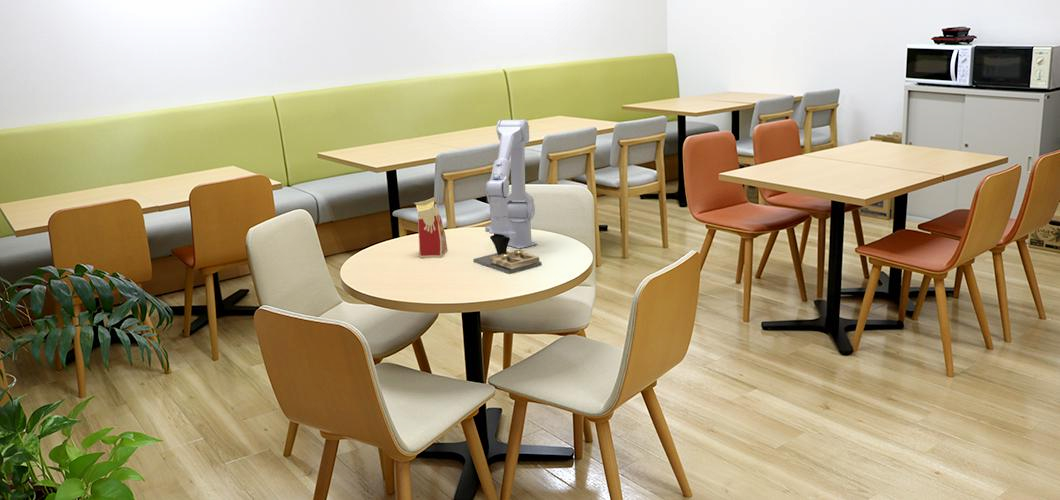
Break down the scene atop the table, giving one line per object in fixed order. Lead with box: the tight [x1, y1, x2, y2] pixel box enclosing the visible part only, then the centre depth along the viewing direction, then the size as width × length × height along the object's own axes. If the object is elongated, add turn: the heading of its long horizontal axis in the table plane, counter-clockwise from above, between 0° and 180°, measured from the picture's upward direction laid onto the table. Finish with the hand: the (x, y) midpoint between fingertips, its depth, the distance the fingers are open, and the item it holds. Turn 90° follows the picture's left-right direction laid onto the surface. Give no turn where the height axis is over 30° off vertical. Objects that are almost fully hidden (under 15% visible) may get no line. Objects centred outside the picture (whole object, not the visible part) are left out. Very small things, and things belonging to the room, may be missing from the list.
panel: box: [490, 250, 540, 269], centre depth 289 cm, size 12×11×2 cm
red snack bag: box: [413, 196, 448, 259], centre depth 307 cm, size 9×9×20 cm
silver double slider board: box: [472, 249, 543, 275], centre depth 293 cm, size 20×13×4 cm, turn 37°
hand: (501, 256), depth 295 cm, fingers closed
